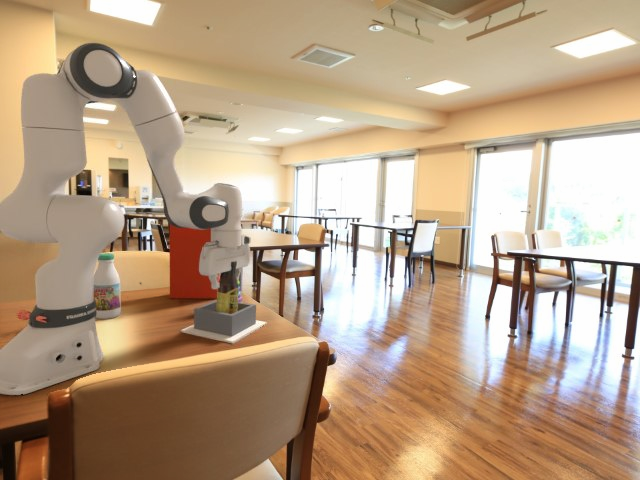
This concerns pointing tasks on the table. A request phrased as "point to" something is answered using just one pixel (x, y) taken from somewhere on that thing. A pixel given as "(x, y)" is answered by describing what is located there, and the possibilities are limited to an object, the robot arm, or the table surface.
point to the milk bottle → (107, 288)
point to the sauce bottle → (228, 291)
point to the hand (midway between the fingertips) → (225, 285)
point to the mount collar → (224, 322)
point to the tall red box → (189, 264)
